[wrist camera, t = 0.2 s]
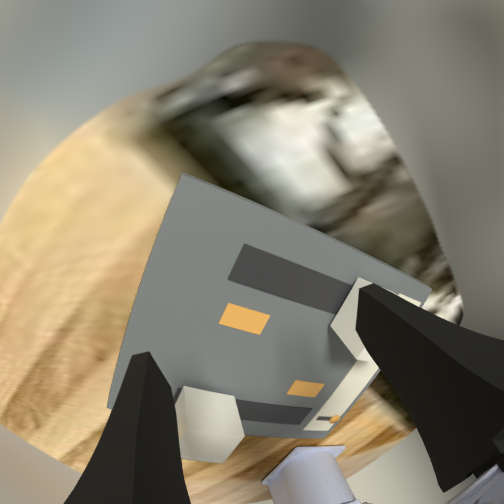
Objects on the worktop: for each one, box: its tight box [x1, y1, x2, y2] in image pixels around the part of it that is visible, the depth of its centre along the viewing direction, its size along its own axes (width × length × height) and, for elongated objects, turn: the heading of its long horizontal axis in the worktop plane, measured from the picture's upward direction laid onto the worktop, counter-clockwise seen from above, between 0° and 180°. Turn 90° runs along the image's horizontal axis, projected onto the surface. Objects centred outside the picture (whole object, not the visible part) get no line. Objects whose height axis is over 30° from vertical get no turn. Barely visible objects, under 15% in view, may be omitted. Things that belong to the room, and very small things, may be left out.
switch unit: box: [107, 172, 432, 438], centre depth 22 cm, size 19×22×2 cm
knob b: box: [330, 277, 397, 363], centre depth 19 cm, size 4×4×4 cm
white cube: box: [175, 386, 245, 463], centre depth 19 cm, size 4×4×4 cm
